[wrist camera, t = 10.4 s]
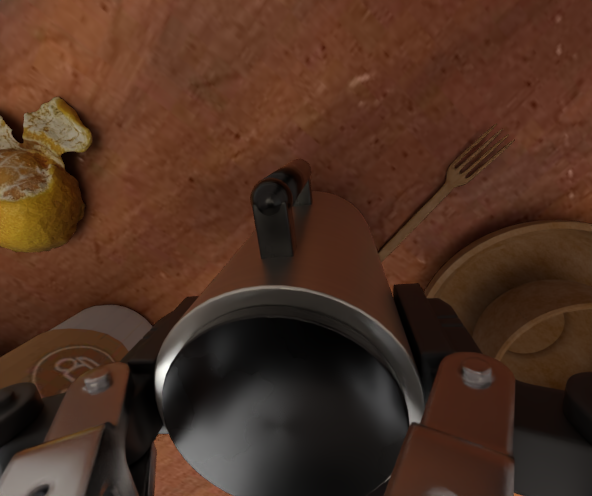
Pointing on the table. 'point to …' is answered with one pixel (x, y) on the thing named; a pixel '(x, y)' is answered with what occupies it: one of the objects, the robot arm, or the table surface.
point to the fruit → (40, 179)
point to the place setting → (519, 288)
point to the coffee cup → (73, 348)
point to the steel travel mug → (292, 355)
